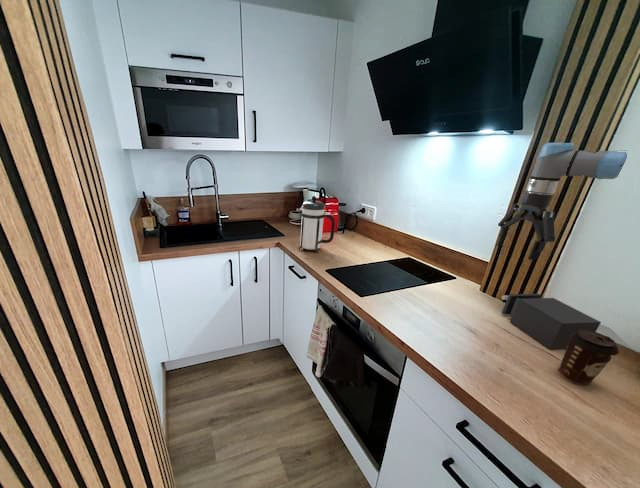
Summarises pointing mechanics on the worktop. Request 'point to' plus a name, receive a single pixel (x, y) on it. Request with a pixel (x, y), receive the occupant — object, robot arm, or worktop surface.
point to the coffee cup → (586, 356)
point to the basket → (515, 302)
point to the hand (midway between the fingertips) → (515, 252)
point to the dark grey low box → (550, 321)
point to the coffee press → (314, 225)
